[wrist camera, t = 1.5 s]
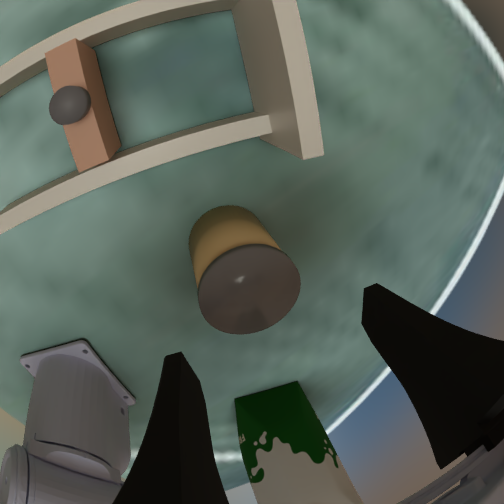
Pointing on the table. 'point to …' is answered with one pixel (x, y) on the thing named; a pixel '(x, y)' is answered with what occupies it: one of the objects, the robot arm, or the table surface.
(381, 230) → the table surface
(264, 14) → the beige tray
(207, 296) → the jar
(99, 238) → the table surface
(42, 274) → the table surface
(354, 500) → the milk carton
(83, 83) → the pusher
